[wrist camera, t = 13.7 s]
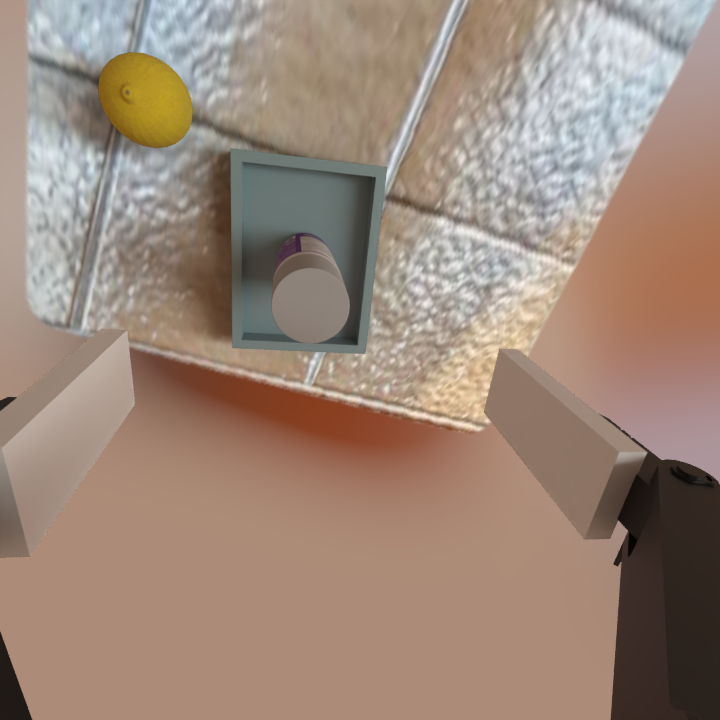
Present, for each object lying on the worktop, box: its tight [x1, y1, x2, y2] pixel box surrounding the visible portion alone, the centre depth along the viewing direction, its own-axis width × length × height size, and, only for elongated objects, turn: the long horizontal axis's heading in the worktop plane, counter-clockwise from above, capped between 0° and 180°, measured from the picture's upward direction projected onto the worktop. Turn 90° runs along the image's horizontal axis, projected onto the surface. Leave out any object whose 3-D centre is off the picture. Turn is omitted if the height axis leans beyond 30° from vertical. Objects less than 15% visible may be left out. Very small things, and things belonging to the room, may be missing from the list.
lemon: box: [98, 52, 193, 148], centre depth 29 cm, size 6×6×8 cm
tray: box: [230, 149, 387, 354], centre depth 38 cm, size 16×12×3 cm
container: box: [271, 232, 350, 343], centre depth 31 cm, size 5×5×15 cm
